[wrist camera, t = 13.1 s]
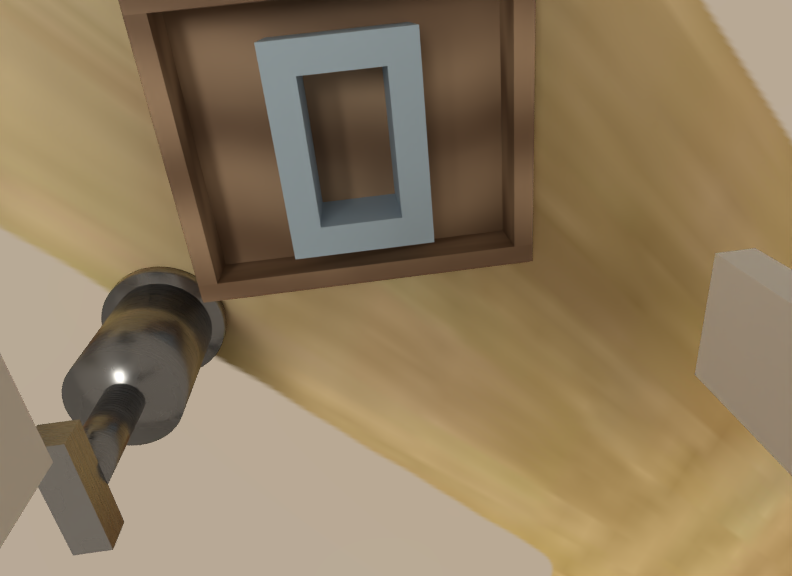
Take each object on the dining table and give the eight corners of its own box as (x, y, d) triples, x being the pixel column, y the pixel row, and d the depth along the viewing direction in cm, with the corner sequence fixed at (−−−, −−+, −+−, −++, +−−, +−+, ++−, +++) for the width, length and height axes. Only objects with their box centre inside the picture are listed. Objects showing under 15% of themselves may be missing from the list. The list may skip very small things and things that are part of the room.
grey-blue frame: (300, 231, 32) (295, 259, 29) (264, 37, 28) (254, 42, 24) (423, 215, 33) (434, 242, 29) (408, 21, 28) (419, 24, 24)
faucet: (89, 275, 33) (-66, 445, 20) (211, 259, 34) (133, 419, 21) (126, 374, 36) (12, 576, 24) (237, 359, 37) (184, 551, 24)
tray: (140, -9, 27) (115, -11, 24) (514, -49, 28) (536, -55, 25) (215, 275, 34) (203, 302, 31) (514, 237, 35) (532, 261, 32)
